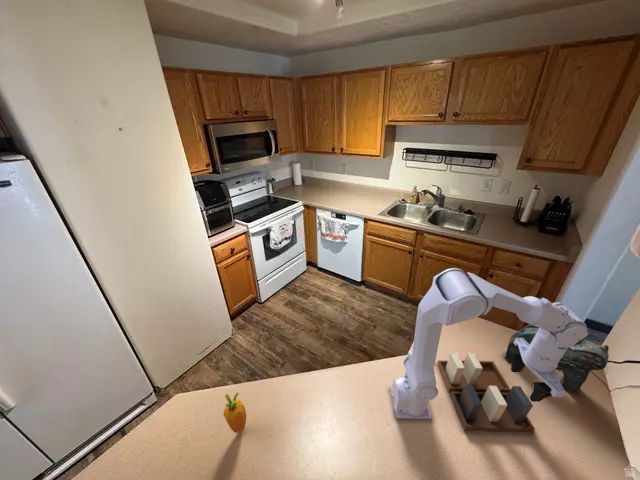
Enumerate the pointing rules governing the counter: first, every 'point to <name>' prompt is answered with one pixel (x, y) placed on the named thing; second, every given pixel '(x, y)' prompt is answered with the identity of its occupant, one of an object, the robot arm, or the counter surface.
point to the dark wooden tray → (483, 422)
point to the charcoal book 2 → (518, 404)
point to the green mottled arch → (570, 358)
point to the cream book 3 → (493, 404)
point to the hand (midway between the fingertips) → (524, 384)
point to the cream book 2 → (471, 369)
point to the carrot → (235, 414)
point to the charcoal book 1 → (469, 403)
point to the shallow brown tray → (486, 378)
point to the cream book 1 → (454, 368)
